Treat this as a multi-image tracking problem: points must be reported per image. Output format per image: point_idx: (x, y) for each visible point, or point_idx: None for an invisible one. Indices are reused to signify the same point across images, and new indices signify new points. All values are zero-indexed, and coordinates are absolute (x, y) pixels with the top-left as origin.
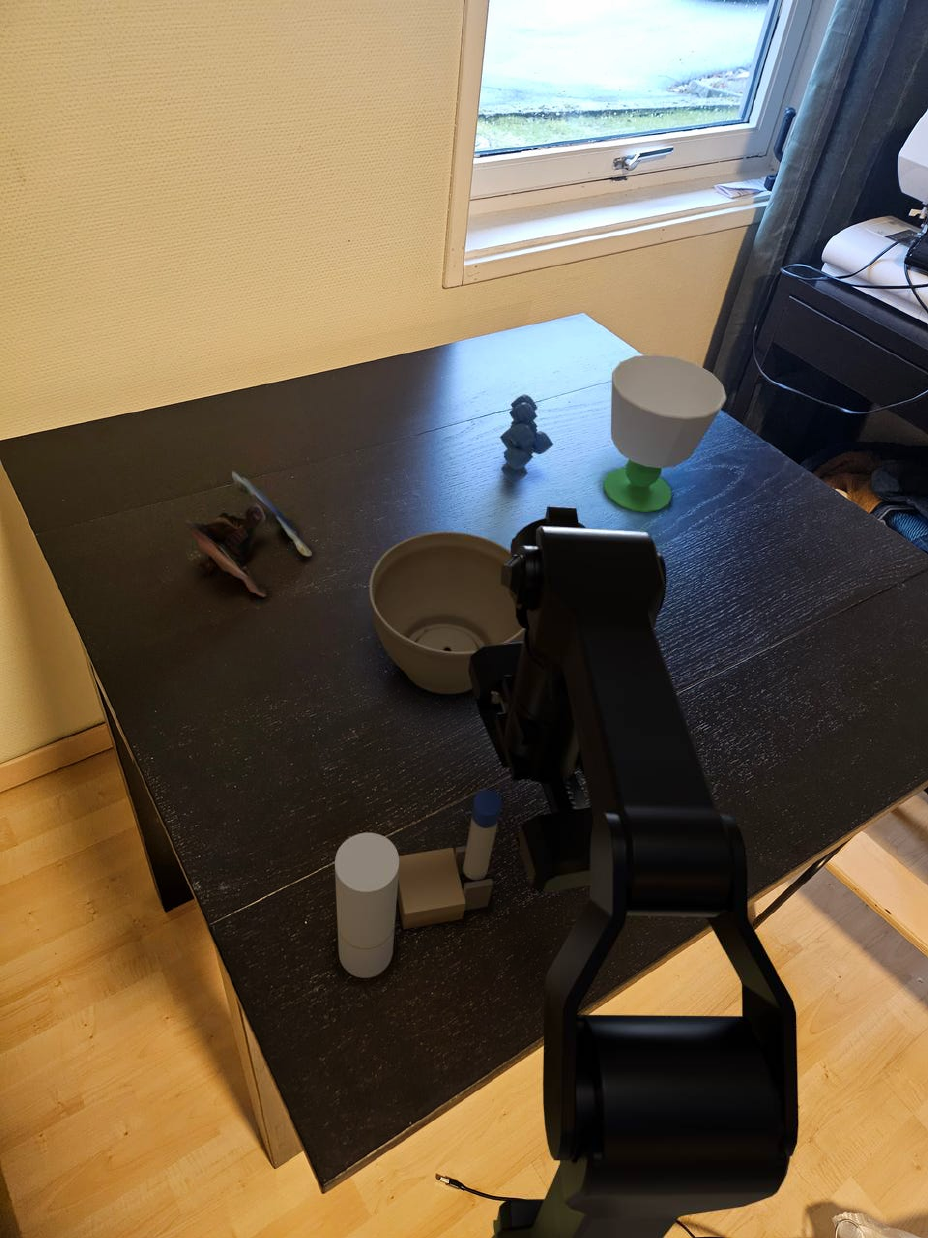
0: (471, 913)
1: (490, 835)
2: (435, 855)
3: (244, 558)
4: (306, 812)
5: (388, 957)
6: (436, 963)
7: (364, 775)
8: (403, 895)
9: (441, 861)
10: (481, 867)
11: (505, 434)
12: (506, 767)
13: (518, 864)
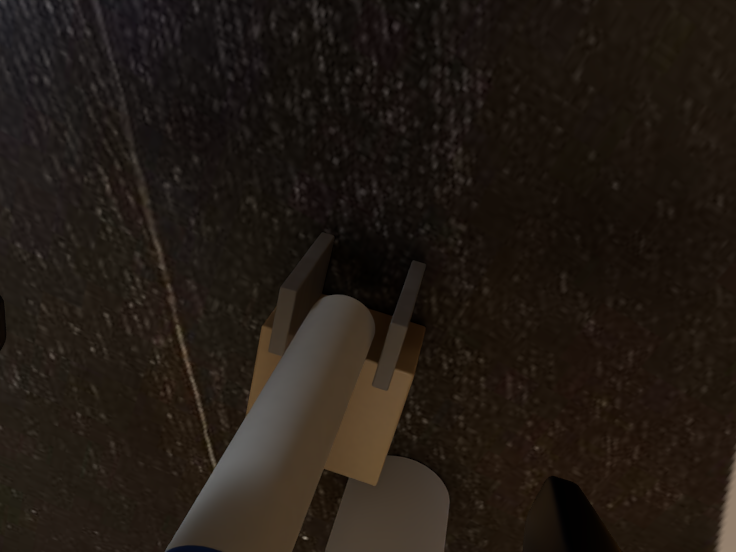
0: (422, 302)
1: (296, 529)
2: (268, 370)
3: None
4: (102, 450)
5: (438, 513)
6: (486, 414)
7: (40, 331)
8: (334, 469)
9: None
10: (357, 377)
11: None
12: (4, 332)
13: (357, 131)
